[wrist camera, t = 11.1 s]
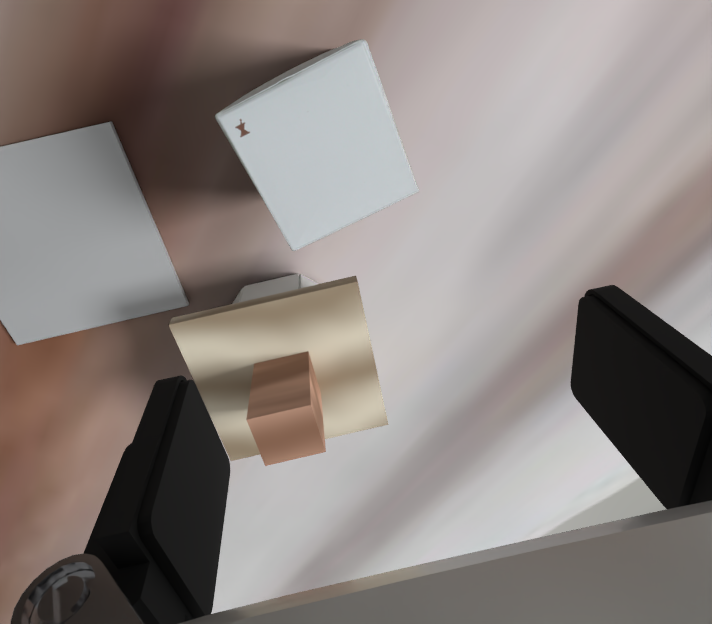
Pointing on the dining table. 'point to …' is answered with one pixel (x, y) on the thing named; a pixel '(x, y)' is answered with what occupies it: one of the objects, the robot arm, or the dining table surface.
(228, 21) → the dining table surface
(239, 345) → the lid
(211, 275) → the dining table surface
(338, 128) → the supplement box
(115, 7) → the dining table surface
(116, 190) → the mat
